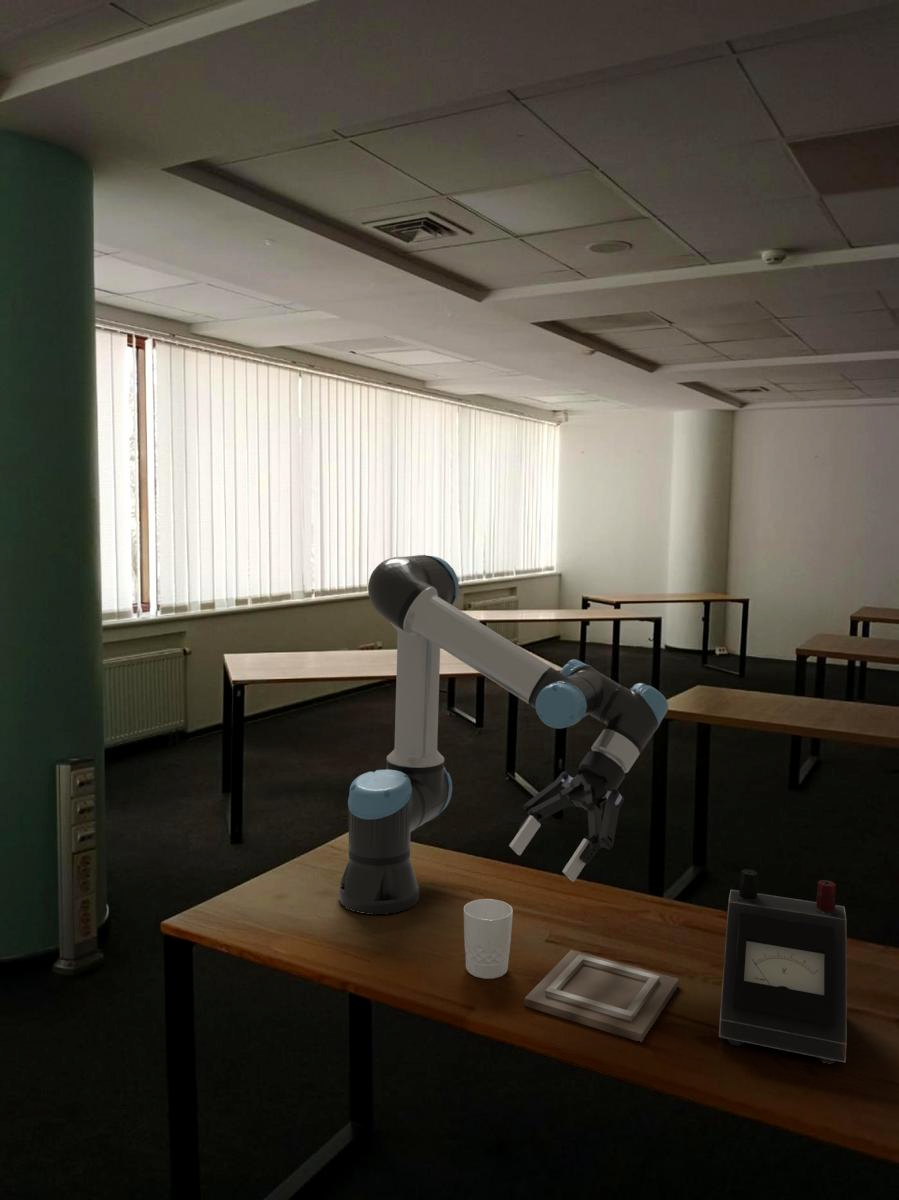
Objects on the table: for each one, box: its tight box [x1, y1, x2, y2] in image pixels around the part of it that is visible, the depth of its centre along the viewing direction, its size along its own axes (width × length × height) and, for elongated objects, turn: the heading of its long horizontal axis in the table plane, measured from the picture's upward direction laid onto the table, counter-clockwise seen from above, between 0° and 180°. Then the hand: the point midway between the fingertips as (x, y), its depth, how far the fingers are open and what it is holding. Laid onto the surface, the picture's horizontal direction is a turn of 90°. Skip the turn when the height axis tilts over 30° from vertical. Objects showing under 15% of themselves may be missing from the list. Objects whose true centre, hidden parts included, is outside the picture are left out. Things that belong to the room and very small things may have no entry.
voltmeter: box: [718, 868, 848, 1063], centre depth 130 cm, size 16×16×20 cm
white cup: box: [463, 898, 514, 980], centre depth 146 cm, size 8×8×10 cm
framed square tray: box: [523, 949, 680, 1043], centre depth 139 cm, size 18×18×2 cm
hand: (540, 863), depth 151 cm, fingers open, 13 cm apart
